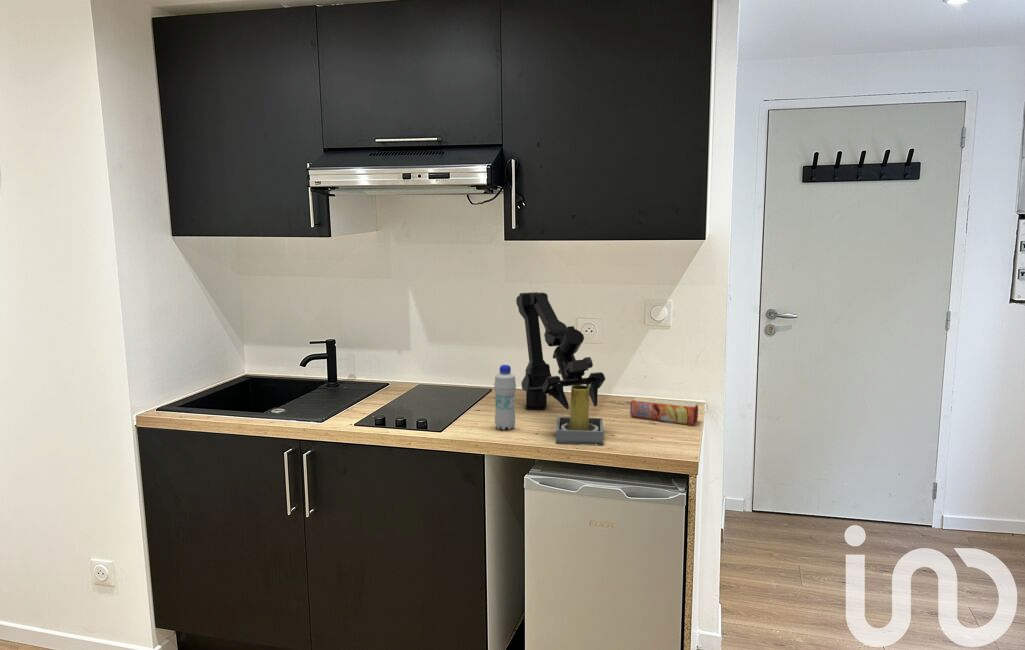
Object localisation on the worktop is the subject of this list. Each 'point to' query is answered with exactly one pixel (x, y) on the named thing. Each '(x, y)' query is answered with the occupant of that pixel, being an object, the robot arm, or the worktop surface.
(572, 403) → the vase
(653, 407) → the snack package
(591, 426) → the collar
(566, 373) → the robot arm
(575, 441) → the tray
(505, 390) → the bottle
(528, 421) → the worktop surface
